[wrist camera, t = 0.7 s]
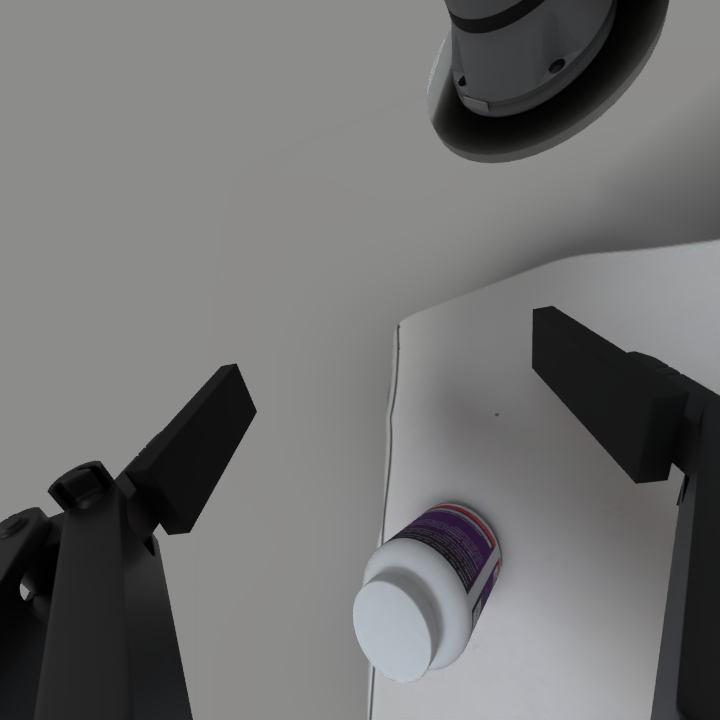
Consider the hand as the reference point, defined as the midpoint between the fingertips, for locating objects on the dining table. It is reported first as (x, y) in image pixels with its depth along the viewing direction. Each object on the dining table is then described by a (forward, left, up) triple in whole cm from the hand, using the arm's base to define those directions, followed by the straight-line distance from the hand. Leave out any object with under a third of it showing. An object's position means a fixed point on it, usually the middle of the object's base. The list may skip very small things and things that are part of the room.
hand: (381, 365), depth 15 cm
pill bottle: (+16, +3, -21) cm, 27 cm away
